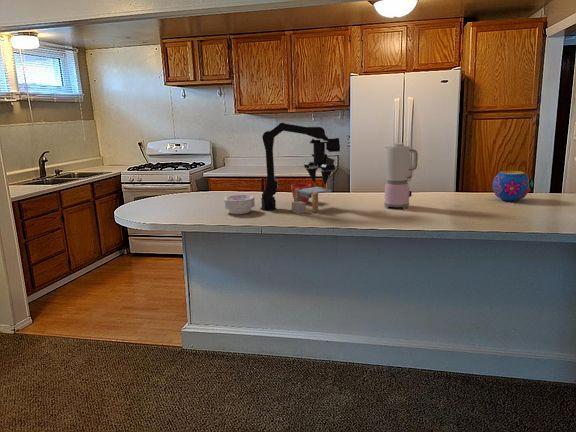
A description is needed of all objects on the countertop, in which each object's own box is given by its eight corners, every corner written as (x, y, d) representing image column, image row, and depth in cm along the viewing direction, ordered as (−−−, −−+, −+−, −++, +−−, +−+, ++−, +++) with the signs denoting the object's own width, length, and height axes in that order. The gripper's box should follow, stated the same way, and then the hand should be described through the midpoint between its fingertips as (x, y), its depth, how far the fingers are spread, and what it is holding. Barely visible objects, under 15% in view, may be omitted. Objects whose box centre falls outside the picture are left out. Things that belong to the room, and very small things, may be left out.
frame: (315, 213, 216) (314, 193, 214) (295, 207, 230) (295, 188, 228) (318, 212, 217) (318, 192, 215) (298, 207, 231) (298, 188, 229)
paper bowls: (227, 217, 214) (226, 201, 212) (222, 210, 228) (221, 195, 227) (257, 214, 218) (257, 198, 216) (251, 208, 232) (251, 193, 231)
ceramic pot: (535, 203, 224) (538, 174, 221) (500, 204, 225) (502, 174, 221) (518, 196, 241) (521, 169, 238) (485, 197, 242) (488, 170, 238)
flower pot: (304, 205, 236) (303, 187, 234) (287, 203, 243) (287, 185, 240) (315, 201, 244) (314, 184, 242) (299, 199, 251) (298, 182, 249)
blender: (383, 209, 221) (385, 144, 213) (383, 204, 232) (385, 142, 225) (416, 209, 217) (419, 144, 210) (414, 204, 229) (417, 142, 222)
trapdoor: (310, 198, 216) (310, 192, 216) (297, 195, 226) (296, 189, 226) (331, 195, 223) (331, 189, 223) (317, 192, 233) (317, 186, 232)
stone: (297, 213, 217) (297, 204, 215) (291, 212, 221) (291, 202, 220) (305, 212, 219) (305, 202, 218) (300, 210, 223) (299, 201, 222)
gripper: (343, 152, 218) (343, 183, 222) (320, 150, 234) (320, 179, 237) (325, 153, 212) (326, 185, 216) (303, 151, 228) (304, 181, 231)
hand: (319, 183), depth 225 cm, fingers open, 9 cm apart
